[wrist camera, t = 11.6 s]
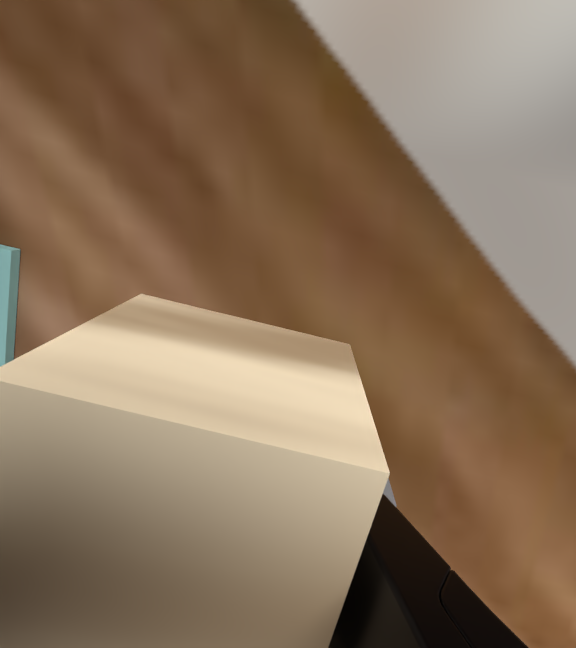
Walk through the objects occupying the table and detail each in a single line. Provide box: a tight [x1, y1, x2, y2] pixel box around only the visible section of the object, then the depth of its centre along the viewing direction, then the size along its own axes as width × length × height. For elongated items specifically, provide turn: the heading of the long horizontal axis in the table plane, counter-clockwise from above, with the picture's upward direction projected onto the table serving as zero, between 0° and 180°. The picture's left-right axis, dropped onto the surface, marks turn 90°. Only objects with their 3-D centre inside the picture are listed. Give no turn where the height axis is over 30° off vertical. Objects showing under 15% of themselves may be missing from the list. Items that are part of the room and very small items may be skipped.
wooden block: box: [0, 294, 390, 648], centre depth 8 cm, size 5×5×5 cm
